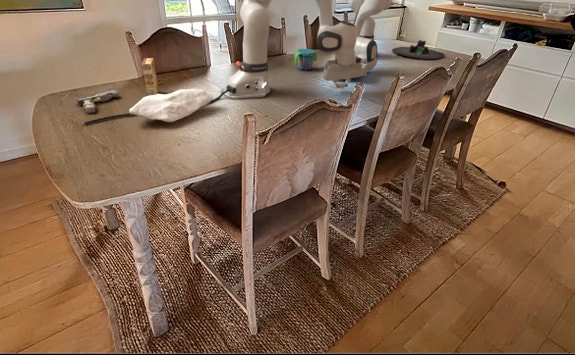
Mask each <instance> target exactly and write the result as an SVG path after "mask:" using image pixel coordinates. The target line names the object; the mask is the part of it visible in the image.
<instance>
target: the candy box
mask: <svg viewBox="0 0 575 355" xmlns="http://www.w3.org/2000/svg"><path fill="white" fill-rule="evenodd" d="M141 66H142V73H143V78H144V82H145V87H146V92H147V96H150V95H156V94H159V91H160V90H159V84H158V79H157V73H156V66H155V62H154V58H153V57H151V58H150V57H149V58H146V57H145V58H143V60H142V63H141Z"/></svg>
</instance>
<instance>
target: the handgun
mask: <svg viewBox="0 0 575 355" xmlns="http://www.w3.org/2000/svg"><path fill="white" fill-rule="evenodd" d="M119 96H120V94H119V92H118V91H117V90H116V89H112V90H108V91H105V92H104V91H103V92H101V93H96V94H94V95H86V94H85V95H84V94H83V95H81V96H80V97H77V98H76V101H77V104H78V105H82V108H83V109H84V110H85V113H87V114H91V113H95V112H96V104H95V103H98V102H106V101H109V100H111V99H113V98H117V97H119Z"/></svg>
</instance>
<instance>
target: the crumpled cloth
mask: <svg viewBox="0 0 575 355" xmlns="http://www.w3.org/2000/svg"><path fill="white" fill-rule="evenodd" d="M213 97H214V96H213V94H212V93H210V92H208V91H206V90H203V89H201V88H187V89H186V88H185V89H184V88H183V89H177V90H175V91H173V92H171V93H167V94H163V93H158V94H156V95H150V96H148V95H146V96H144V97H142V98H141V99H140V100H139V101H138V102H137V103H136V104H134V105H133V106H132V107H131V108H129V112H128V113H130V114H134V115H133V116H140V117H145V118H146V119H149V120H152V121H155V120H158V121H163V122H166V123H174V122H176V121H178V120H181V119H183V118H185V117H188V116H190V115H192V114H193V113H195V112H196V111H197V110H199V109H200V108H202V107H204V106H206V105H208V104H210V103H209V102H210V101H211V100H213V99H214V98H213ZM207 103H208V104H207Z"/></svg>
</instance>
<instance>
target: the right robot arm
mask: <svg viewBox="0 0 575 355" xmlns="http://www.w3.org/2000/svg"><path fill="white" fill-rule="evenodd" d="M347 4H348V6H349V8H350V9H351V10H352V12H354V14H355V17H354V20H353V24H354V25H355V26H356V28H357V38H356V45H355V47H354V51H355V54H354V55H356V56H358V57H360V58H362V59H363V61H362V74H361V76H360V77H366V76H367V73H368V72H369V71H372V70H373V69H374V68H375V67H376V66H377V64H378V59H377V55H378V44H377V42H376V41H375V30H376V29H375V28H376V21H375V19H374V18H372V16H376V15H379V14H380V13H382V12H383V11H387V10H388V9H389V8H390V7H391V4H392V0H347Z"/></svg>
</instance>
